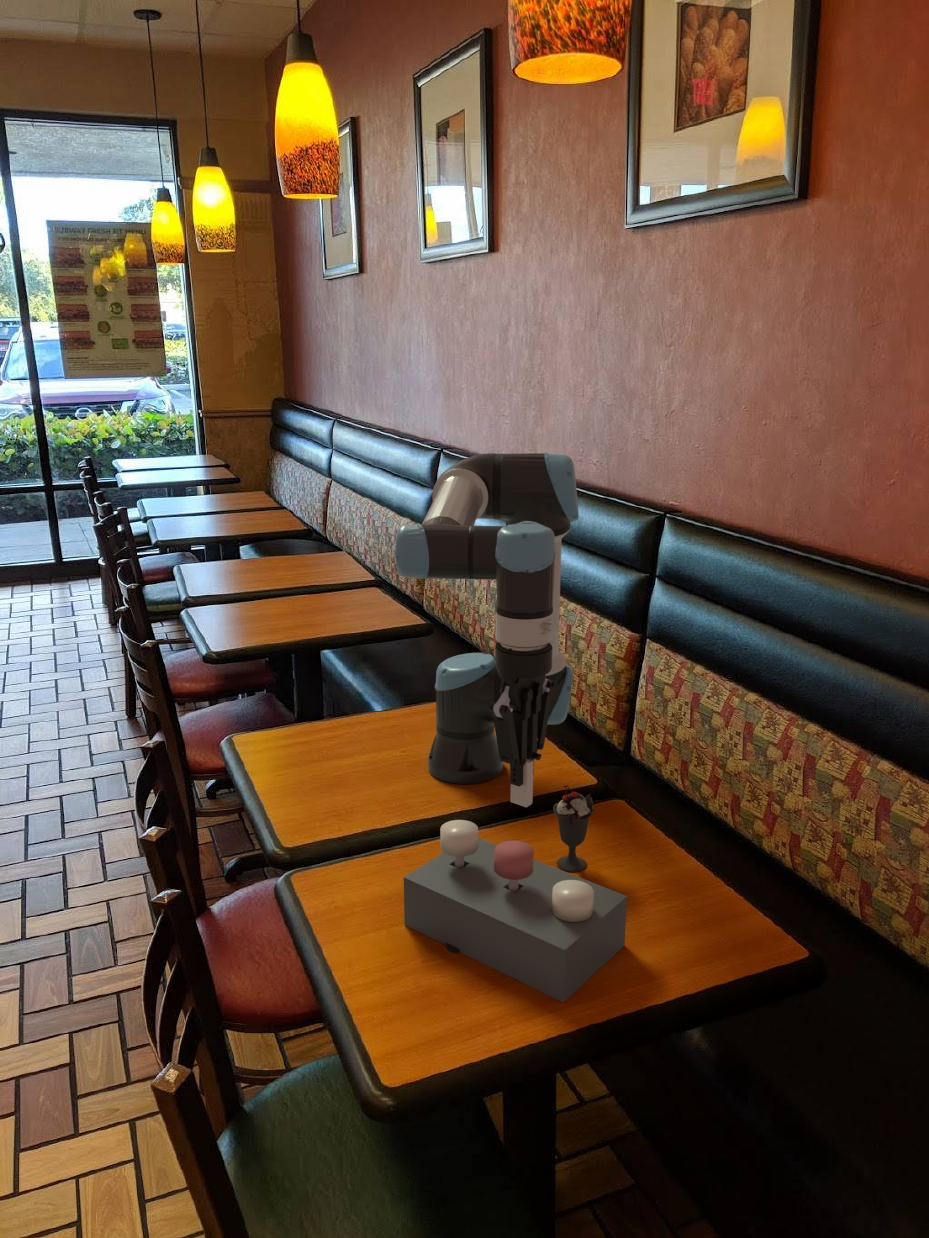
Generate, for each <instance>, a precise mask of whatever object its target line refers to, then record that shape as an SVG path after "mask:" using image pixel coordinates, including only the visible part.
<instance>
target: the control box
mask: <svg viewBox="0 0 929 1238" xmlns="http://www.w3.org/2000/svg"><path fill="white" fill-rule="evenodd" d="M497 845H498V844H496V843H493V842H491V841H488V840H486V839H483V838H480V837H478V850H477V851H476V852H475V853H473V854H471V855H469V856H464V867H463V868H462V869H459V868H456V867H455V856H450V855H447V854H445V853H444V852H443V851H442V853H440V854H439V855H437V856H436V857H434V858H432V859H431V860H429V861H428V862H426V863H424V864H423V865H421V866H420V867H418V868H416V869H415V870H412V871H411V872H410V873H408V874H406V875H405V876H403V907H404V908H403V910H404V911H403V912H404V916H403V917H404V926H406V927H408V928H410V929H413V930H415V931H416V932H418V933H421V934H422V935H424V936H426V937H429V938H431V939H433V940H435V941H436V942H438V943H440V944H443V945H445V946H446V943H448V944H450V945H452V946H454V947H456V948H458V949H460V952H459V953H461V954H462V955H465V956H467V957H470V958H471V959H473V960H475V961H477V962H478V963H481V964H483V965H486V966H488V967H489V968H491V969H494V970H495V971H497V972H499V973H501V974H504V975H506V976H508V977H510V978H512V979H514V980H516V981H518V982H520V983H523V984H524V985H526V986H528V987H530V988H532V989H533V990H536V991H538V992H540V993H542V994H544V995H546V996H548V997H551V998H553V999H555V1000H556V1001H558V1002H561V1003H565V1001H567V1000H568V999H569V998H570V997H571V996H573V994H574V993H576V991H578V990H579V989H580V988H581V987H582V986H583V985H584V984H585V983H586V982H587V981H588V980H589V979H591V978H592V976H594V975H595V974H596V973H597V972H598V971H599V970H600V969H601V968H602V967H604V965H606V963H608V962H609V961H610V960H611V959H612V958H613V957H614V956H615V955H616V954H617V953H618V952H620V950H622V949H623V948H624V947H625V945H626V929H627V927H626V926H627V908H628V907H627V906H628V896H627V895H625V894H622V893H619V892H618V891H615V890H612V889H610V888H607V887H605V886H603V885H600V884H597V883H595V882H593V881H589V880H587V879H585V878H582V877H579V876H577V875H575V874H571V873H569V872H568V871H564V870H562V869H560V868H556V867H554V866H552V865H549V864H546V863H543V862H541V861H538V860H536V859H534V863H533V873H532V874H531V875H530V876H529V877H527V878H524V879H519V880H518V891H517V892H513V891H510V890H509V879H505V878H502V877H500V876H498V875H497V874H496V873H495V871H494V849H495V847H496V846H497ZM564 880H578V881H582V882H585V883H587V884H588V885H590V886H591V887H592V888H593V891H594V899H593V914H592V916H591V917H590V918H589V919H587V920H584V921H580V922H569V921H565V920H562V919H559V918H558V917H556V916H555V915H554V914H553V912H552V891H553V887H554V885H555V884H557V883H558V882H561V881H564Z"/></svg>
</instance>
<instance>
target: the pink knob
mask: <svg viewBox="0 0 929 1238" xmlns="http://www.w3.org/2000/svg"><path fill="white" fill-rule="evenodd" d="M496 845H497V846H496V847H495V849H494V871H495V873H496V874H497V875H498V876H500V877H502V878H505V879H509V890H510V891H513V892H517V891H518V880H519V879H524V878H527V877H529V876H530V875H531V874H532V873H533V863H534V860H535V858H534V856H535V855H534V853H535V852H534V851H535V850H534V848H533V846H532V845H530V843H527V842H524V841H520V840H506V841H502V842H500V843H498V844H496Z"/></svg>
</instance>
